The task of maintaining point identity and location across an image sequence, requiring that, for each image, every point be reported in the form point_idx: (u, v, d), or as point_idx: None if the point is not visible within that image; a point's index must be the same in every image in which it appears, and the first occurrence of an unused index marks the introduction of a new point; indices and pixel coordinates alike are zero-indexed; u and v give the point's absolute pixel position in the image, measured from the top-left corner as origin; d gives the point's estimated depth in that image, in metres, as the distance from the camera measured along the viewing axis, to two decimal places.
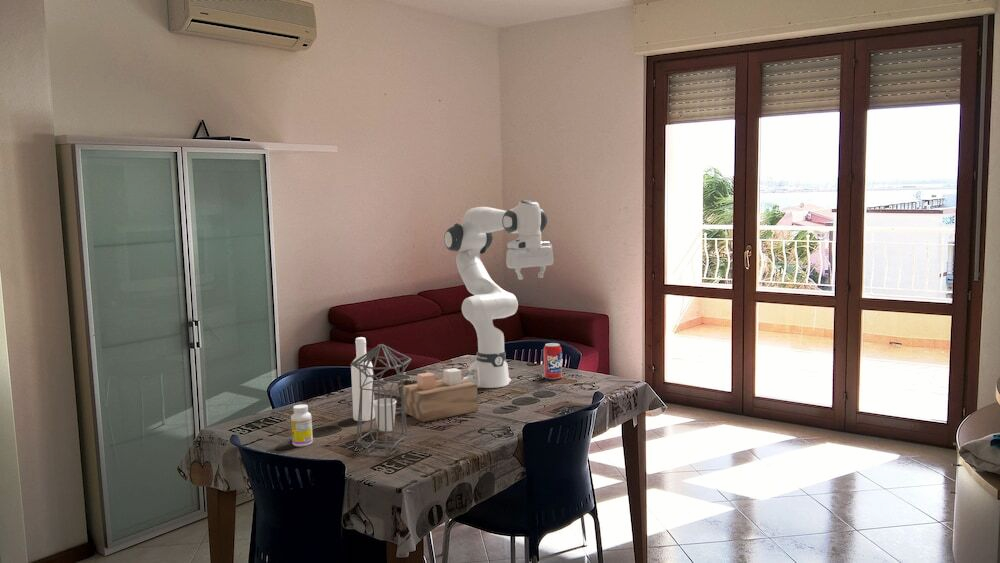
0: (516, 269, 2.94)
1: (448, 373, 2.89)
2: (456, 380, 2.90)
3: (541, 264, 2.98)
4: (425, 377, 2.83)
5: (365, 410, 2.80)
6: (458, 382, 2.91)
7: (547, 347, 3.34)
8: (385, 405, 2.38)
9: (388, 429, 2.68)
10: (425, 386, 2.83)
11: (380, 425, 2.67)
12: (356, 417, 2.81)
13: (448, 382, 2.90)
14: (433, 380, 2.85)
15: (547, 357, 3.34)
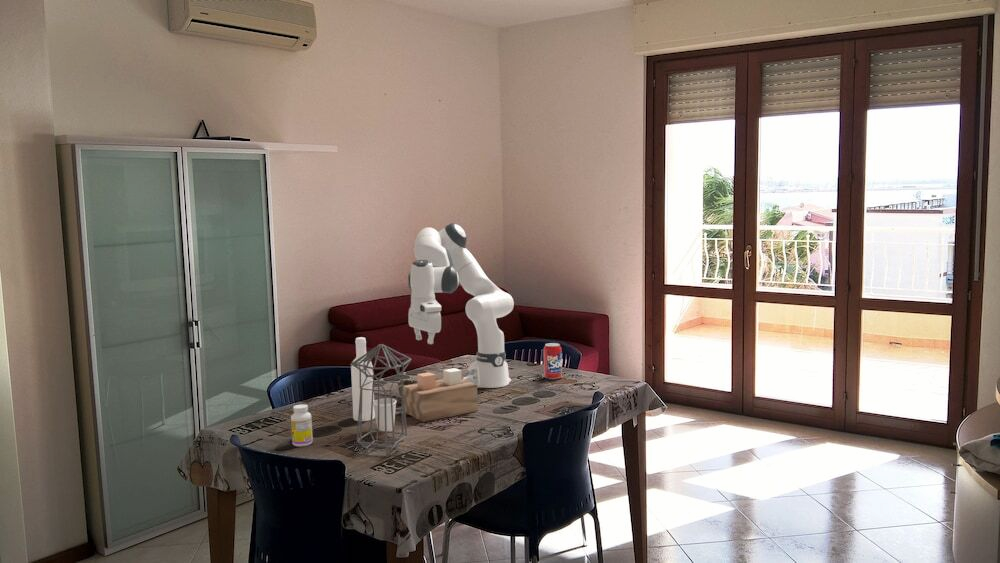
0: (432, 333, 2.79)
1: (448, 373, 2.89)
2: (456, 380, 2.90)
3: None
4: (425, 377, 2.83)
5: (365, 410, 2.80)
6: (458, 382, 2.91)
7: (547, 347, 3.34)
8: (385, 405, 2.38)
9: (388, 429, 2.68)
10: (425, 386, 2.83)
11: (380, 425, 2.67)
12: (356, 417, 2.81)
13: (448, 382, 2.90)
14: (433, 380, 2.85)
15: (547, 357, 3.34)
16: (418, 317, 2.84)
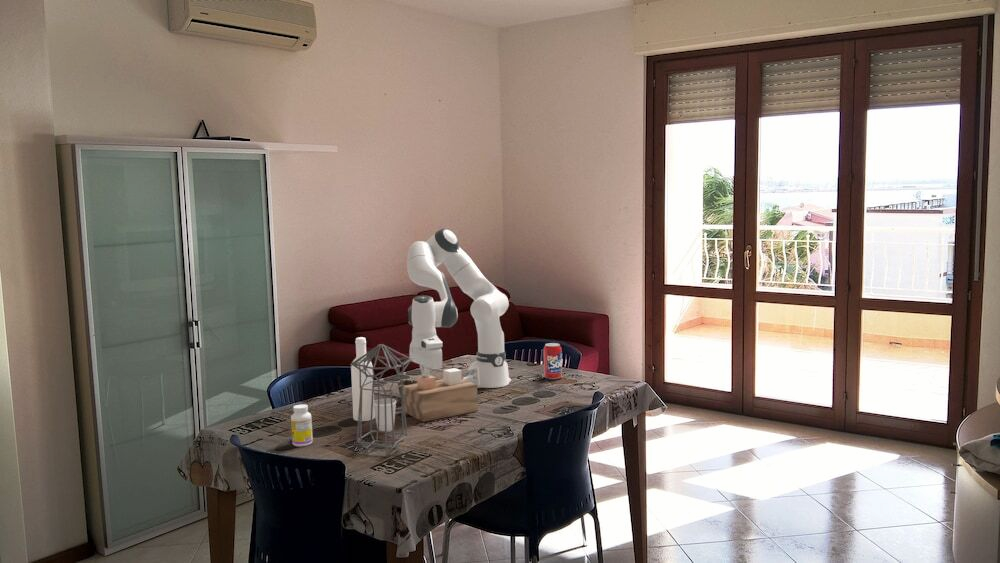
0: (428, 367, 2.84)
1: (448, 373, 2.89)
2: (456, 380, 2.90)
3: None
4: (425, 380, 2.83)
5: (365, 410, 2.80)
6: (458, 382, 2.91)
7: (547, 347, 3.34)
8: (385, 405, 2.38)
9: (388, 429, 2.68)
10: (425, 389, 2.83)
11: (380, 425, 2.67)
12: (356, 417, 2.81)
13: (448, 382, 2.90)
14: (433, 383, 2.85)
15: (547, 357, 3.34)
16: (419, 352, 2.85)
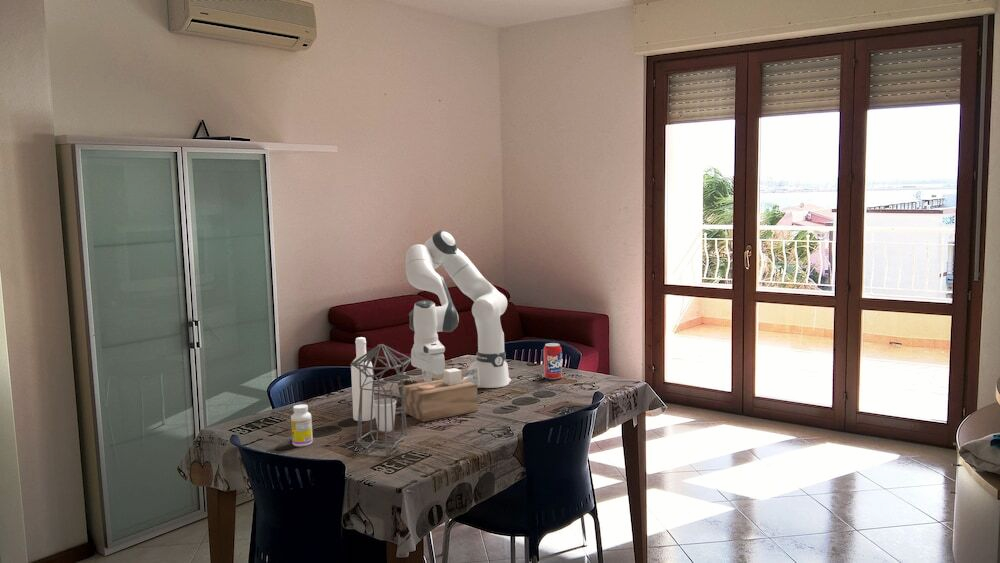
0: None
1: (448, 373, 2.89)
2: (456, 380, 2.90)
3: None
4: None
5: (365, 410, 2.80)
6: (458, 382, 2.91)
7: (547, 347, 3.34)
8: (385, 405, 2.38)
9: (388, 429, 2.68)
10: None
11: (380, 425, 2.67)
12: (356, 417, 2.81)
13: (448, 382, 2.90)
14: None
15: (547, 357, 3.34)
16: (421, 357, 2.85)
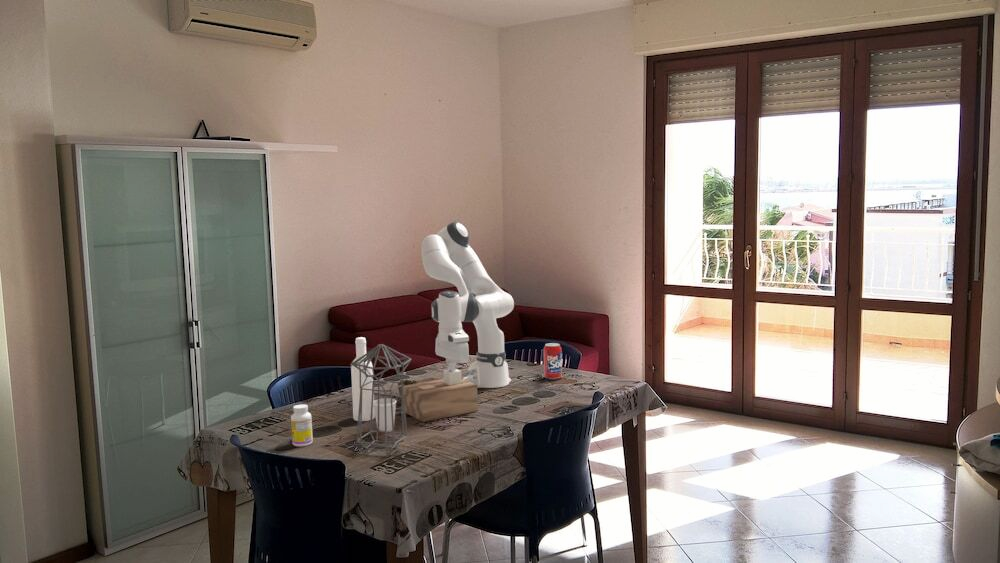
0: (454, 361, 2.89)
1: (448, 373, 2.89)
2: (456, 380, 2.90)
3: None
4: None
5: (365, 410, 2.80)
6: (458, 382, 2.91)
7: (547, 347, 3.34)
8: (385, 405, 2.38)
9: (388, 429, 2.68)
10: None
11: (380, 425, 2.67)
12: (356, 417, 2.81)
13: (448, 382, 2.90)
14: None
15: (547, 357, 3.34)
16: (445, 346, 2.91)
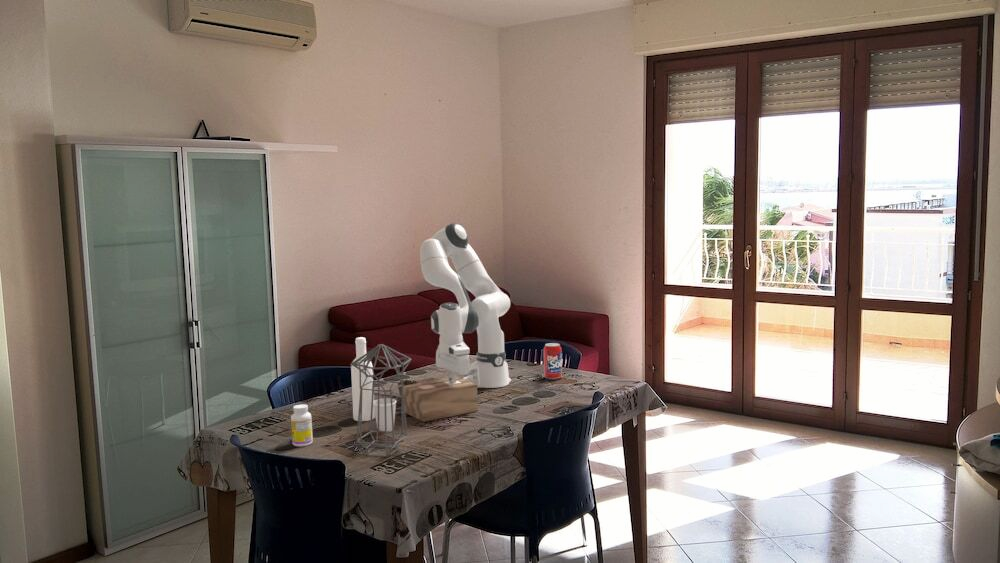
0: (455, 373, 2.90)
1: None
2: None
3: None
4: None
5: (365, 410, 2.80)
6: None
7: (547, 347, 3.34)
8: (385, 405, 2.38)
9: (388, 429, 2.68)
10: None
11: (380, 425, 2.67)
12: (356, 417, 2.81)
13: None
14: None
15: (547, 357, 3.34)
16: (446, 358, 2.92)
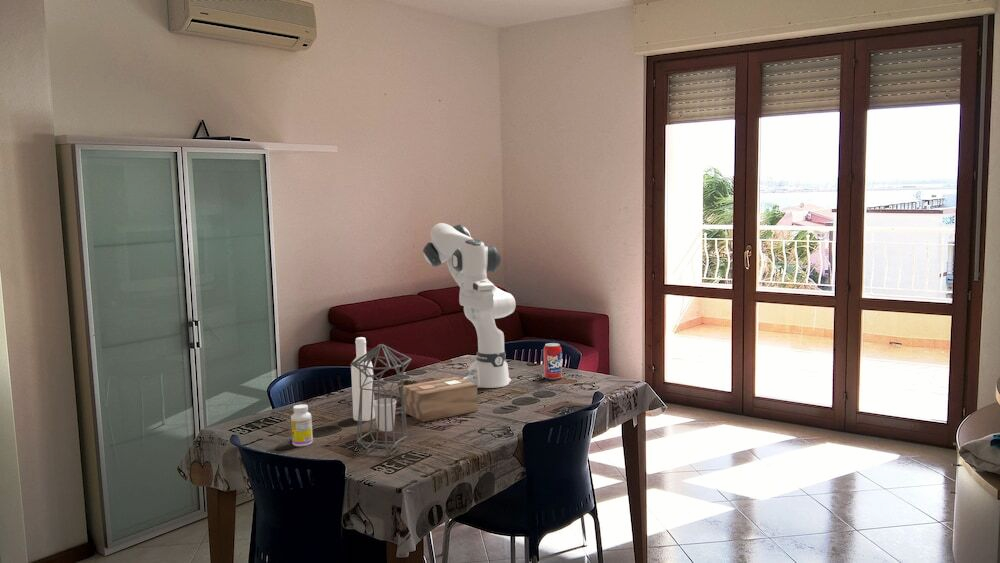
0: (479, 310, 2.87)
1: None
2: None
3: None
4: None
5: (365, 410, 2.80)
6: None
7: (547, 347, 3.34)
8: (385, 405, 2.38)
9: (388, 429, 2.68)
10: None
11: (380, 425, 2.67)
12: (356, 417, 2.81)
13: None
14: None
15: (547, 357, 3.34)
16: (470, 296, 2.89)
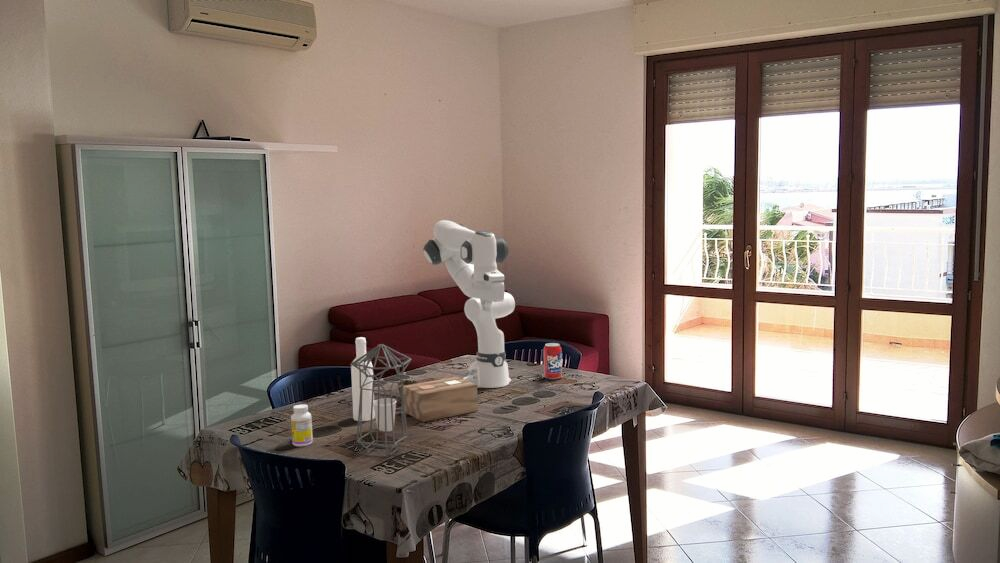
0: (489, 301, 2.87)
1: None
2: None
3: None
4: None
5: (365, 410, 2.80)
6: None
7: (547, 347, 3.34)
8: (385, 405, 2.38)
9: (388, 429, 2.68)
10: None
11: (380, 425, 2.67)
12: (356, 417, 2.81)
13: None
14: None
15: (547, 357, 3.34)
16: (480, 287, 2.89)
